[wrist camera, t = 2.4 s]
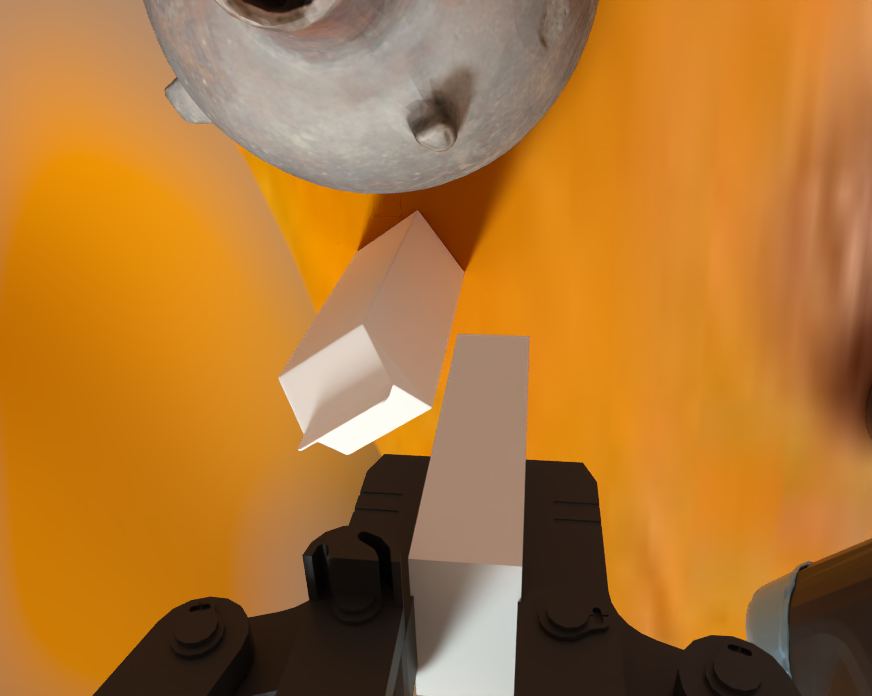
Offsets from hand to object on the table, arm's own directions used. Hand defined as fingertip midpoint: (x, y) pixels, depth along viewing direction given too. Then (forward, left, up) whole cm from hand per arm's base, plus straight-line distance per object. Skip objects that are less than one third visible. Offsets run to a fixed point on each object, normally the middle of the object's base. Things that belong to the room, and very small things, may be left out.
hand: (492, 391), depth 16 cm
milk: (+8, +12, -38) cm, 40 cm away
